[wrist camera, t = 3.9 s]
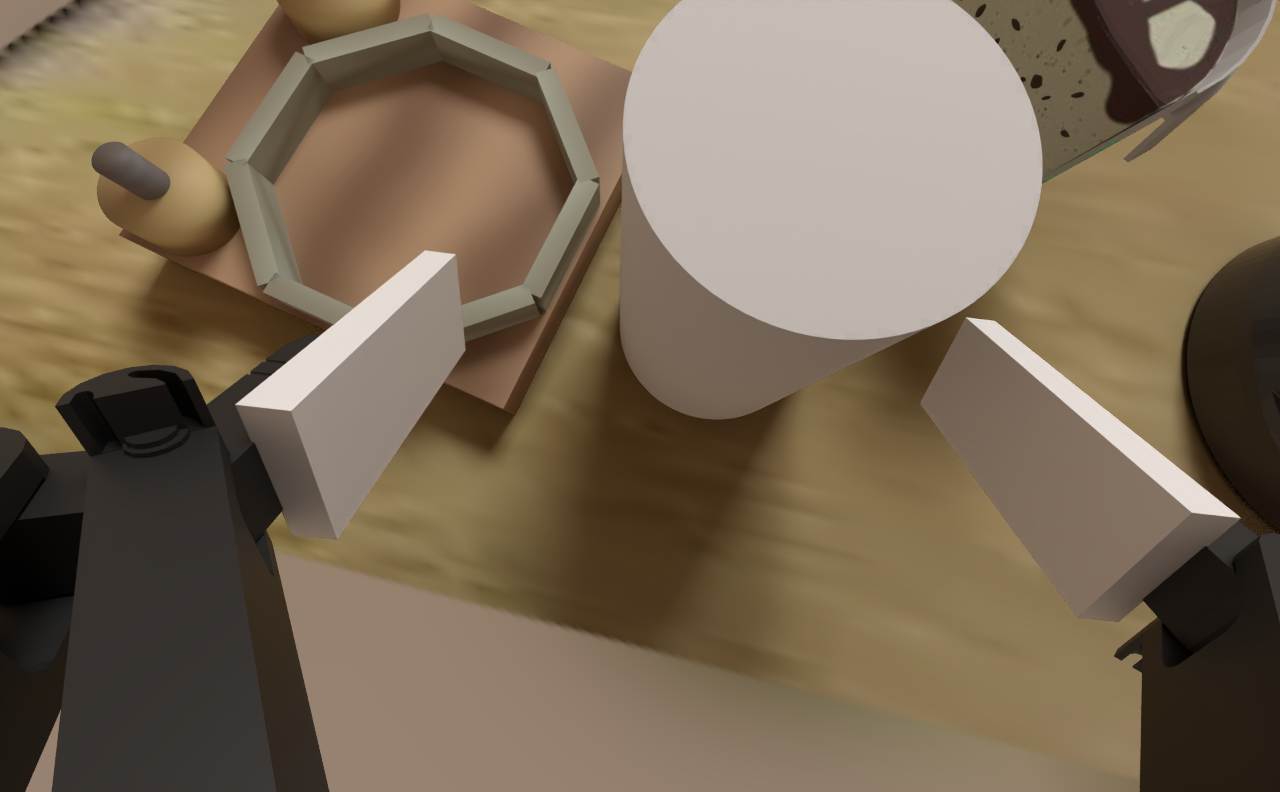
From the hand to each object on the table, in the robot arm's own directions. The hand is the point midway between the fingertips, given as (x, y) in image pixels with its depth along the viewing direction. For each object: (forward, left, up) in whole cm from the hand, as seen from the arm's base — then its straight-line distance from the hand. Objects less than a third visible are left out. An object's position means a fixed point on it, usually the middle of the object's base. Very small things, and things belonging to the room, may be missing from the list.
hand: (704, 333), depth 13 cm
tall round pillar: (-1, -3, -8) cm, 9 cm away
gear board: (+13, -4, -8) cm, 16 cm away
